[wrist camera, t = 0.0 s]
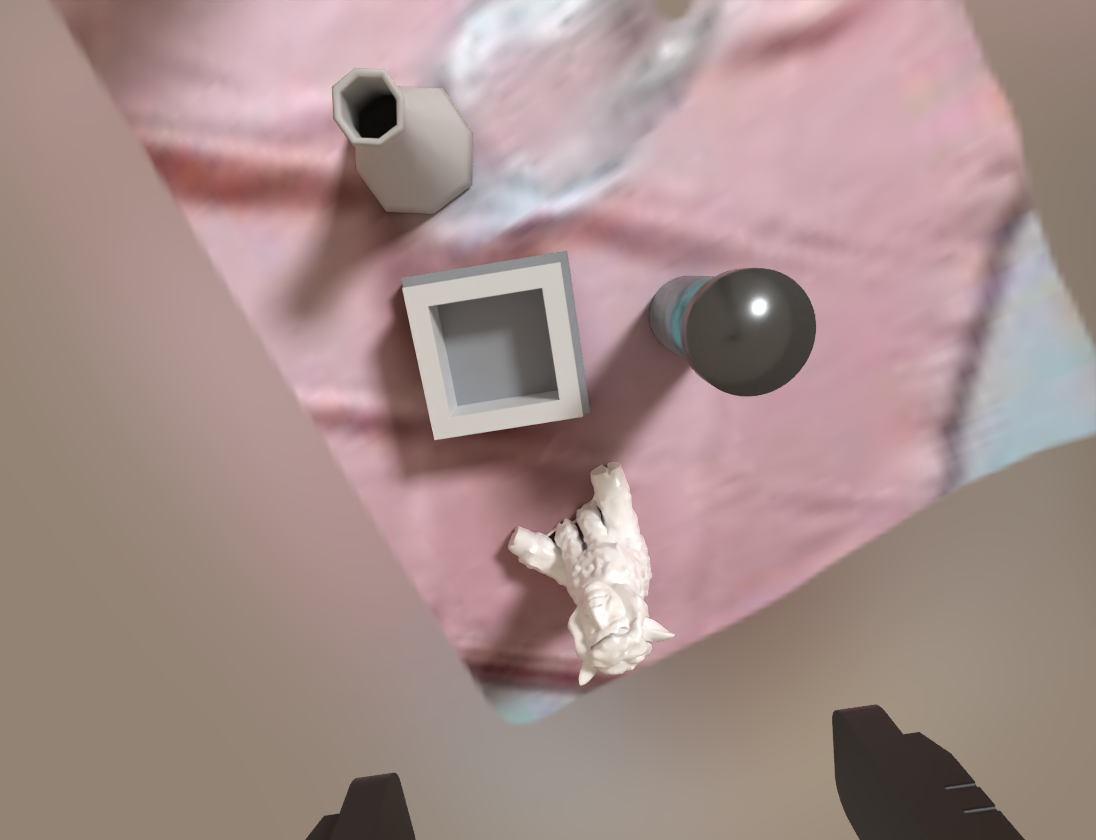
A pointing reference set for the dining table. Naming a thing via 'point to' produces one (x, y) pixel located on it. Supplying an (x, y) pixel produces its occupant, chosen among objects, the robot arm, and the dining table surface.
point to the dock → (497, 345)
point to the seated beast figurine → (600, 576)
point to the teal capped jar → (737, 327)
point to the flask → (404, 141)
